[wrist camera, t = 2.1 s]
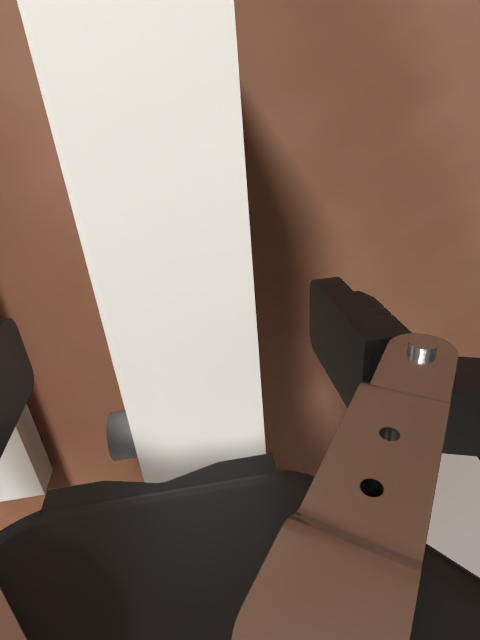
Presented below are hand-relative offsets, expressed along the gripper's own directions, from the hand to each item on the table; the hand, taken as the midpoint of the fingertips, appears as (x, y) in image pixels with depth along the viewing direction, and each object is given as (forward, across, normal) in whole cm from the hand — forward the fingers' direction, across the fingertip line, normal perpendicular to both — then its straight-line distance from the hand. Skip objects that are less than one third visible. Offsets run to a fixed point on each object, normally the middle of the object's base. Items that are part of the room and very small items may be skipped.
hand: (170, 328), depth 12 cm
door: (+6, -1, 0) cm, 6 cm away
